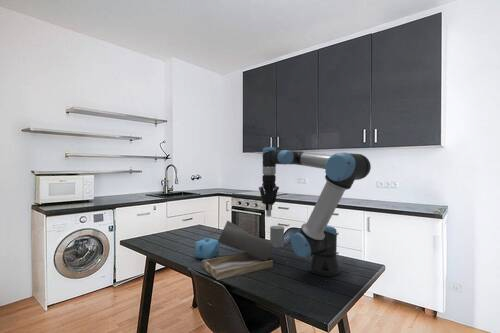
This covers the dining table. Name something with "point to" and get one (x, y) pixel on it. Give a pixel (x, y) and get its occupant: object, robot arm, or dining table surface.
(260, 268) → the tray
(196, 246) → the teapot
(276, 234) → the grey cylinder
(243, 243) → the vase
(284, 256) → the dining table surface
